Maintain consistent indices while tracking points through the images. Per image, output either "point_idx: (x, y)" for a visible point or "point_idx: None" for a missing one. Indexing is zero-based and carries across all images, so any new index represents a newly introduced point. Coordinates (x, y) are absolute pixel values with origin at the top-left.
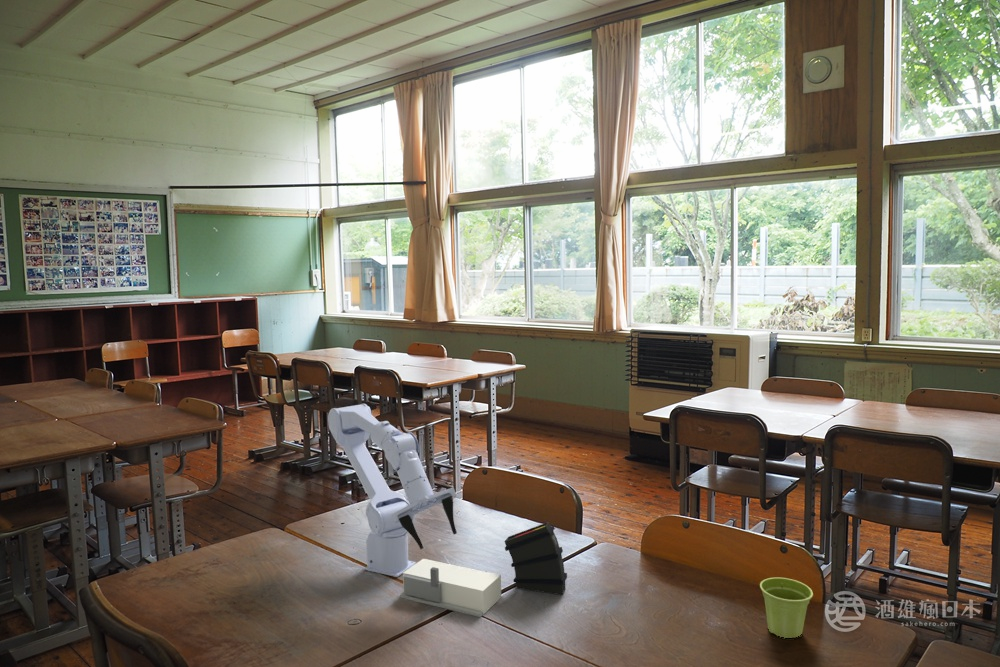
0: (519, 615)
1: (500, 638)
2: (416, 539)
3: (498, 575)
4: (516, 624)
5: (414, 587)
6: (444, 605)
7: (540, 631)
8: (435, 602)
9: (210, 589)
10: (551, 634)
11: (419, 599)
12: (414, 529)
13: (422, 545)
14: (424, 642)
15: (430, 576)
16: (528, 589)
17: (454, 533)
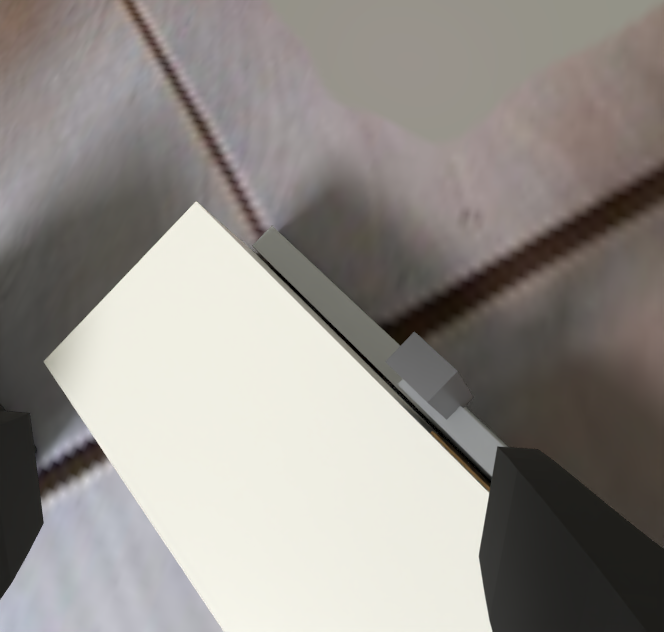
0: (132, 211)
1: (261, 66)
2: (601, 508)
3: (55, 360)
4: (170, 149)
5: None
6: None
7: (121, 92)
8: None
9: None
10: (100, 70)
11: None
12: (662, 627)
13: (503, 453)
14: (580, 73)
15: (452, 512)
16: (4, 410)
17: (24, 476)
